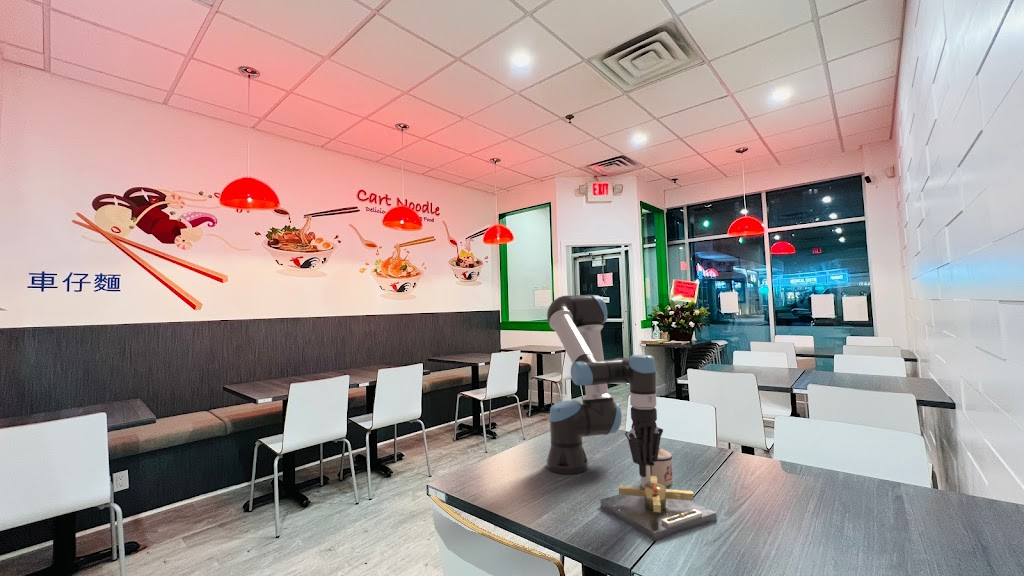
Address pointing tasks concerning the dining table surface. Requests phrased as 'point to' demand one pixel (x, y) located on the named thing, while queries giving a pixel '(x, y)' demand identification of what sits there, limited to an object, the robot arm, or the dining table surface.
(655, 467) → the teacup with lid
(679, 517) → the stand
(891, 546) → the dining table surface
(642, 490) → the capstan
